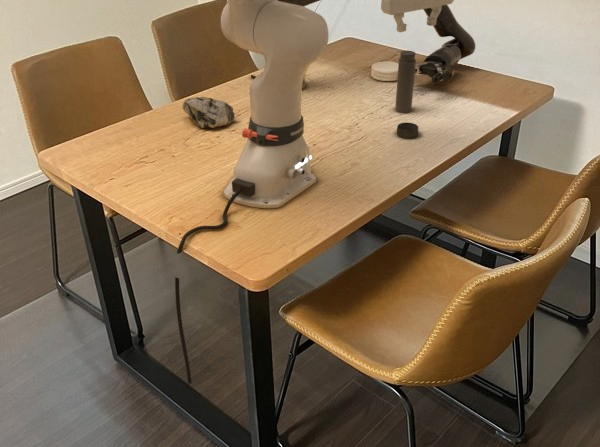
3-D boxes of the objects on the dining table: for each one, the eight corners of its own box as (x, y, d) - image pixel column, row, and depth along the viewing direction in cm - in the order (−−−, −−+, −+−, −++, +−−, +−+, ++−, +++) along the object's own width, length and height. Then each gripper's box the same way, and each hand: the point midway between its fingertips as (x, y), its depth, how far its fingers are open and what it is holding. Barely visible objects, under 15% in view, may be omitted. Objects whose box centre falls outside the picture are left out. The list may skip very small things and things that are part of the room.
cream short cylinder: (368, 72, 203) (368, 61, 202) (398, 70, 204) (398, 60, 202) (374, 82, 195) (374, 71, 193) (405, 81, 196) (406, 70, 194)
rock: (239, 121, 170) (237, 97, 166) (209, 132, 164) (207, 107, 160) (207, 109, 179) (204, 85, 175) (178, 118, 173) (174, 94, 169)
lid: (404, 128, 165) (405, 120, 164) (422, 134, 162) (422, 126, 161) (392, 134, 162) (392, 126, 161) (409, 140, 159) (410, 132, 158)
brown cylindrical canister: (406, 114, 174) (411, 56, 165) (392, 110, 176) (396, 53, 167) (414, 109, 177) (419, 52, 168) (400, 105, 179) (404, 49, 170)
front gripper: (395, -26, 133) (391, 38, 141) (464, -37, 142) (456, 24, 150) (376, -31, 138) (373, 32, 145) (444, -41, 147) (438, 19, 154)
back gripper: (419, 47, 193) (398, 61, 181) (463, 53, 186) (444, 69, 175) (417, 70, 197) (396, 86, 185) (460, 77, 190) (441, 94, 179)
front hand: (416, 28), depth 148 cm, fingers open, 8 cm apart
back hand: (419, 78), depth 180 cm, fingers open, 8 cm apart
